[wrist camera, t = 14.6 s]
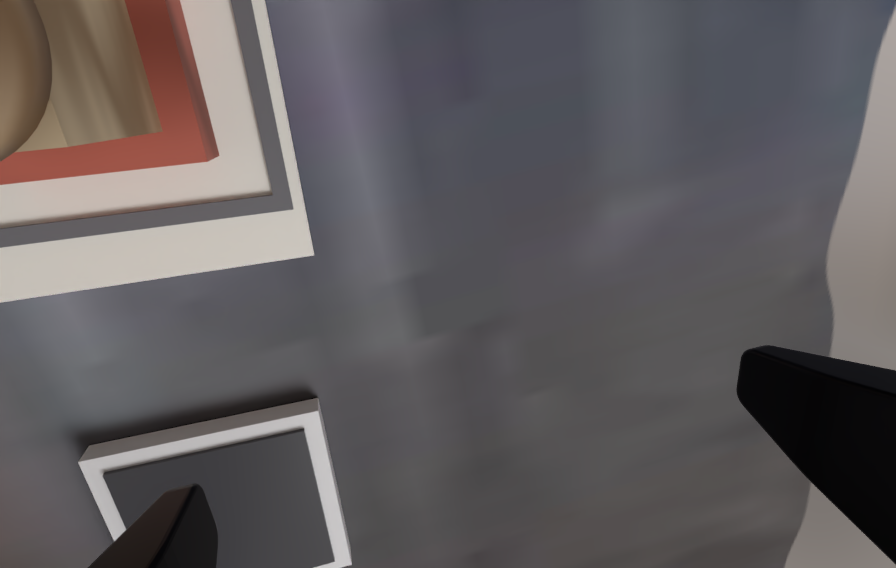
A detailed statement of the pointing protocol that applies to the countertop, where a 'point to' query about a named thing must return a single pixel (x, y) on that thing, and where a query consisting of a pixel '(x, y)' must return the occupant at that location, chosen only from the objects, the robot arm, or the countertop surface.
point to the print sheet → (173, 184)
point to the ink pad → (235, 484)
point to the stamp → (98, 89)
